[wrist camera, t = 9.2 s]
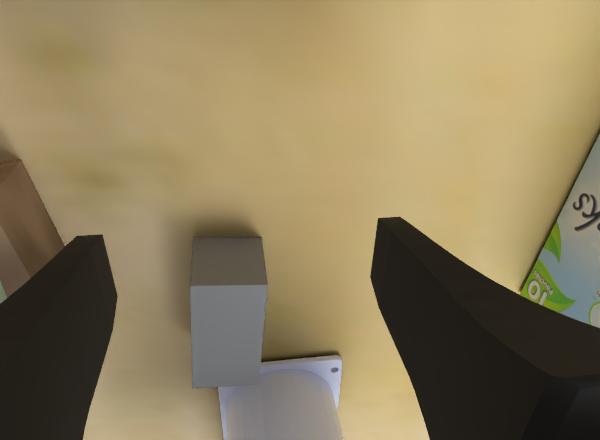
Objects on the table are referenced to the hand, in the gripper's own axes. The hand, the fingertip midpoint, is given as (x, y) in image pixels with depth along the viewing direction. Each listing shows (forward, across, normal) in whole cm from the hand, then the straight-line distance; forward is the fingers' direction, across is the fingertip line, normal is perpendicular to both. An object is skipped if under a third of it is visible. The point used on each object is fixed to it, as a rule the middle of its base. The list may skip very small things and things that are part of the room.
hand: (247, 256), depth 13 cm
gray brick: (+11, +1, +10) cm, 15 cm away
